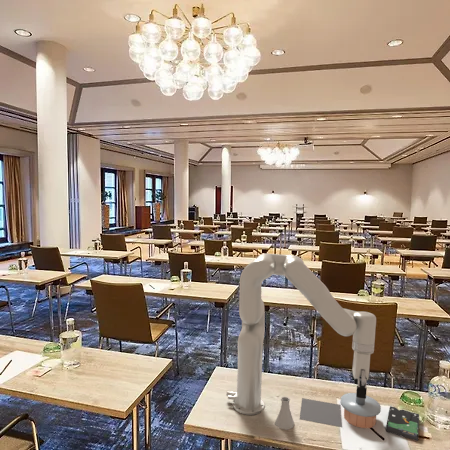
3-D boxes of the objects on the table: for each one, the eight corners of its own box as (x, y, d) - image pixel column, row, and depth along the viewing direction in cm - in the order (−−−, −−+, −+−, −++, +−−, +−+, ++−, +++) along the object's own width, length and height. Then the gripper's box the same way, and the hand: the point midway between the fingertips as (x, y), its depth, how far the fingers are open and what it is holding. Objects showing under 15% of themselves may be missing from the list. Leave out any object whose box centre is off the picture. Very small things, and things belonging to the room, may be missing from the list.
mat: (299, 421, 132) (299, 418, 132) (302, 399, 146) (302, 398, 146) (341, 429, 128) (342, 427, 128) (340, 406, 142) (340, 404, 142)
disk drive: (389, 412, 140) (385, 432, 127) (389, 405, 140) (386, 425, 127) (418, 420, 135) (418, 442, 122) (419, 413, 135) (419, 434, 122)
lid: (341, 412, 128) (342, 397, 128) (339, 392, 141) (340, 379, 141) (383, 419, 124) (384, 404, 124) (377, 399, 138) (378, 385, 137)
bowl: (344, 426, 129) (345, 410, 129) (343, 410, 140) (344, 395, 140) (377, 432, 126) (378, 416, 126) (373, 415, 137) (374, 400, 137)
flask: (280, 417, 134) (281, 391, 133) (298, 425, 129) (299, 398, 129) (270, 426, 128) (271, 399, 128) (288, 434, 124) (289, 407, 123)
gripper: (350, 336, 141) (347, 378, 142) (354, 353, 124) (350, 401, 125) (371, 339, 139) (368, 381, 140) (377, 357, 122) (373, 405, 123)
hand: (359, 390), depth 133 cm, fingers open, 9 cm apart
